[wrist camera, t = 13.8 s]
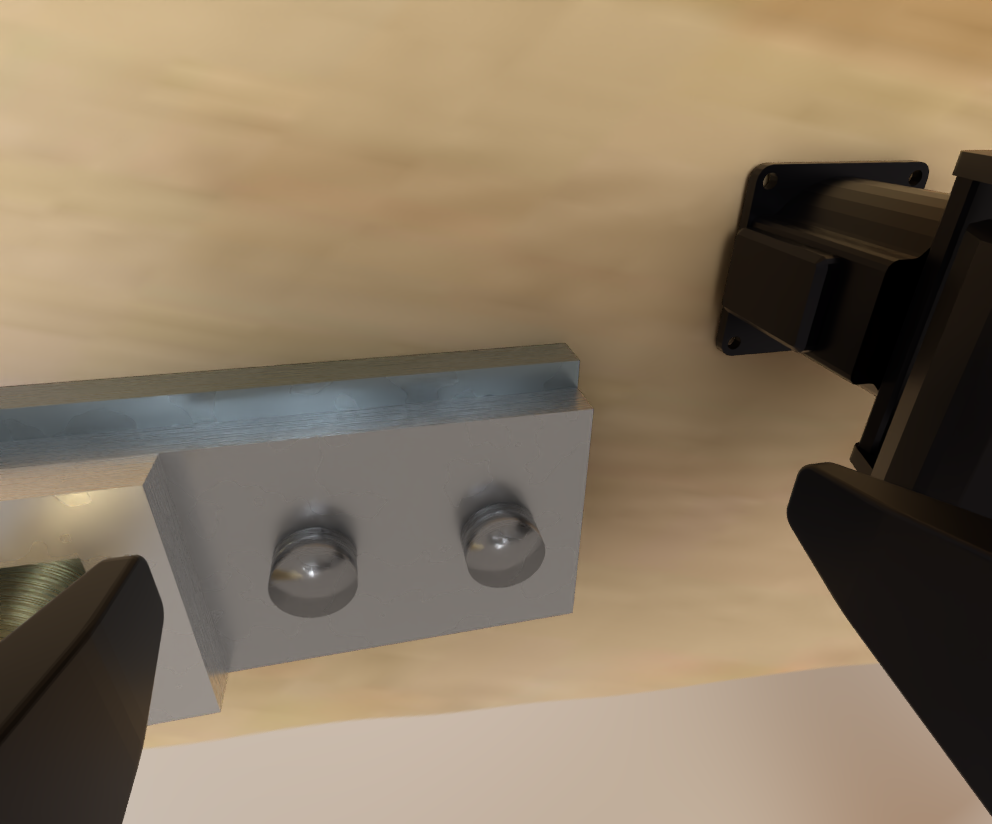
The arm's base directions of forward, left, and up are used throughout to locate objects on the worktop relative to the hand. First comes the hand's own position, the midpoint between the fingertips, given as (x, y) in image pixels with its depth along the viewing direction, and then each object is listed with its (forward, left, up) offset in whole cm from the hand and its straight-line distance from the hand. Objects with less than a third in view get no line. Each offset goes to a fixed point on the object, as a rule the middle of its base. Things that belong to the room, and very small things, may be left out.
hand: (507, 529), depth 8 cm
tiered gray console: (+6, +8, -12) cm, 16 cm away
